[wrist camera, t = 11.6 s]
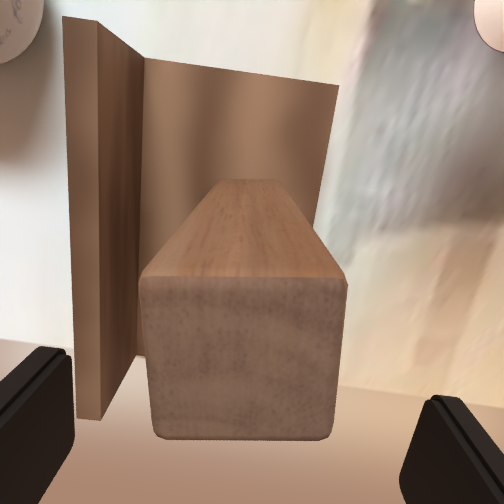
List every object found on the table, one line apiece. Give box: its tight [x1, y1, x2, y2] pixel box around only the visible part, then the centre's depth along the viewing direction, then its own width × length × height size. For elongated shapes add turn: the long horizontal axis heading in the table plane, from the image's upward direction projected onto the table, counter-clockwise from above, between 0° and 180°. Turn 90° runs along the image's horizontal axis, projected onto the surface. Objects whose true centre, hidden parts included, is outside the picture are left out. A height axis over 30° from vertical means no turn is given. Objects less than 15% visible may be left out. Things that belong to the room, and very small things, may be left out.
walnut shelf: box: [62, 16, 339, 421], centre depth 24 cm, size 14×22×12 cm, turn 173°
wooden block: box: [138, 179, 348, 441], centre depth 17 cm, size 9×4×18 cm, turn 179°
